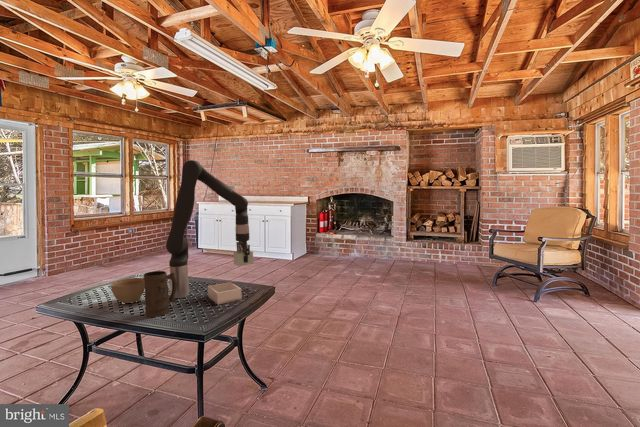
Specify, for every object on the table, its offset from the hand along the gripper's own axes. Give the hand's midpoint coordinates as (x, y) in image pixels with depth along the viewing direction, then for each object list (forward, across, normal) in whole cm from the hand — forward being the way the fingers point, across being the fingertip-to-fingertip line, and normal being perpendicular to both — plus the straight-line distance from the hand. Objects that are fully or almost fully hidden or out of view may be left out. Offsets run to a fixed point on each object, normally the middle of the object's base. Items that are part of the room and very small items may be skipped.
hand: (243, 261), depth 198 cm
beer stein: (+17, +6, -45) cm, 48 cm away
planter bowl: (+18, -21, -56) cm, 62 cm away
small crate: (+1, 0, 0) cm, 1 cm away
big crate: (+17, +6, -14) cm, 23 cm away
